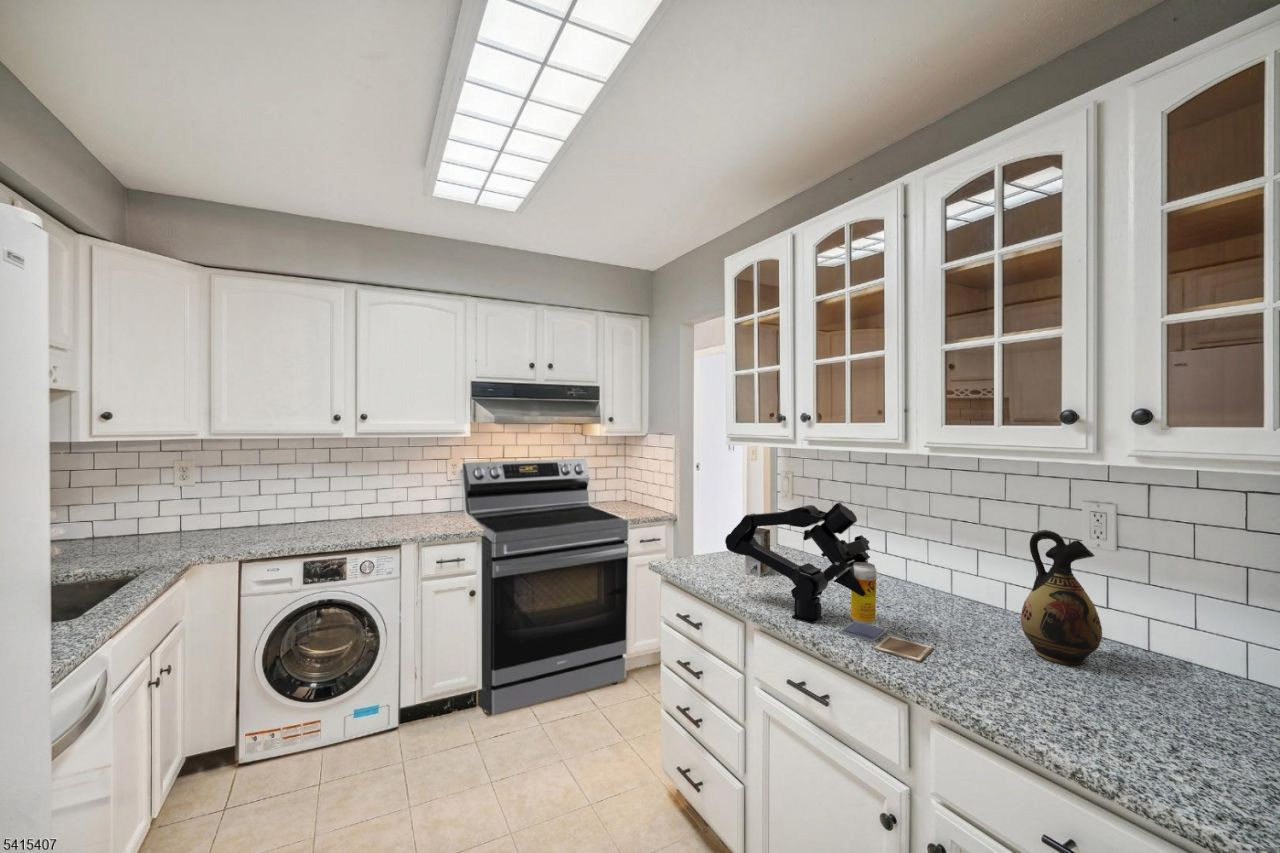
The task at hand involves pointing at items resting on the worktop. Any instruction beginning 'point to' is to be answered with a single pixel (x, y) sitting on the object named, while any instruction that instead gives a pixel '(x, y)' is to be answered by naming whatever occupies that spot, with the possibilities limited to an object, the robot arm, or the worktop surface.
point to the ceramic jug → (1060, 606)
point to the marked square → (903, 648)
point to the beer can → (864, 604)
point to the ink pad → (863, 631)
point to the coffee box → (752, 564)
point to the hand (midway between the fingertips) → (868, 592)
